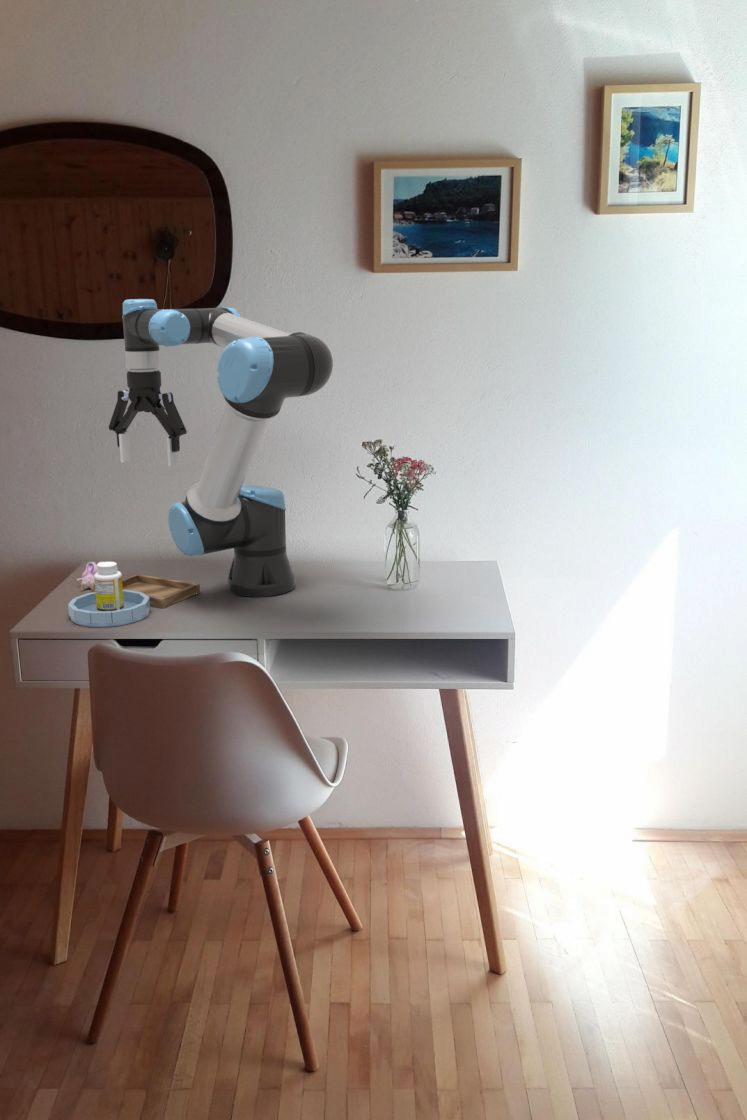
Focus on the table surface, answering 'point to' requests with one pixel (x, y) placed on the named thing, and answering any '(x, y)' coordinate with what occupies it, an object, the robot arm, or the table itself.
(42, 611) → the table surface
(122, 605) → the supplement bottle
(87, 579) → the rabbit figure
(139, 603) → the bowl
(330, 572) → the table surface
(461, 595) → the table surface
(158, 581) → the tray
